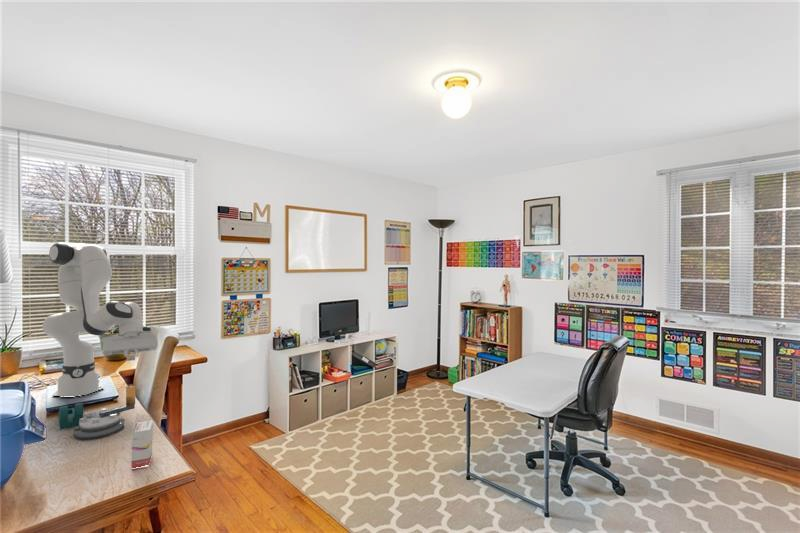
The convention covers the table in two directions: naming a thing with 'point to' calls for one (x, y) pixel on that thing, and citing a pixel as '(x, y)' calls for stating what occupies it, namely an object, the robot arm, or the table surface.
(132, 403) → the lugged valve handwheel
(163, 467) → the table surface
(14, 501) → the table surface
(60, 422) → the bracket
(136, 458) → the ink cartridge box
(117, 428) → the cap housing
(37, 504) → the table surface
